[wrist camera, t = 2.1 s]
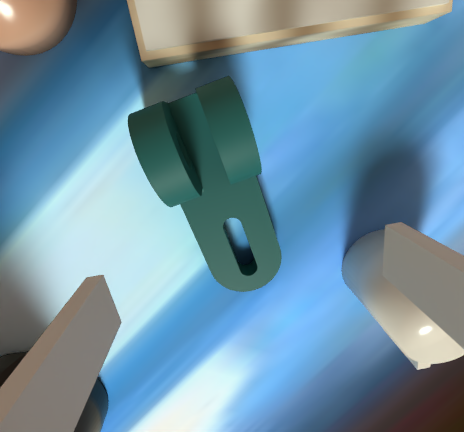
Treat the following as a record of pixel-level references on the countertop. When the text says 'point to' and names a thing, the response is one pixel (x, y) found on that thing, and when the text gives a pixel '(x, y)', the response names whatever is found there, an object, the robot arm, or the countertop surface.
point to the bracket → (210, 177)
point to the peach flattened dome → (34, 24)
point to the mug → (394, 305)
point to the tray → (262, 24)
